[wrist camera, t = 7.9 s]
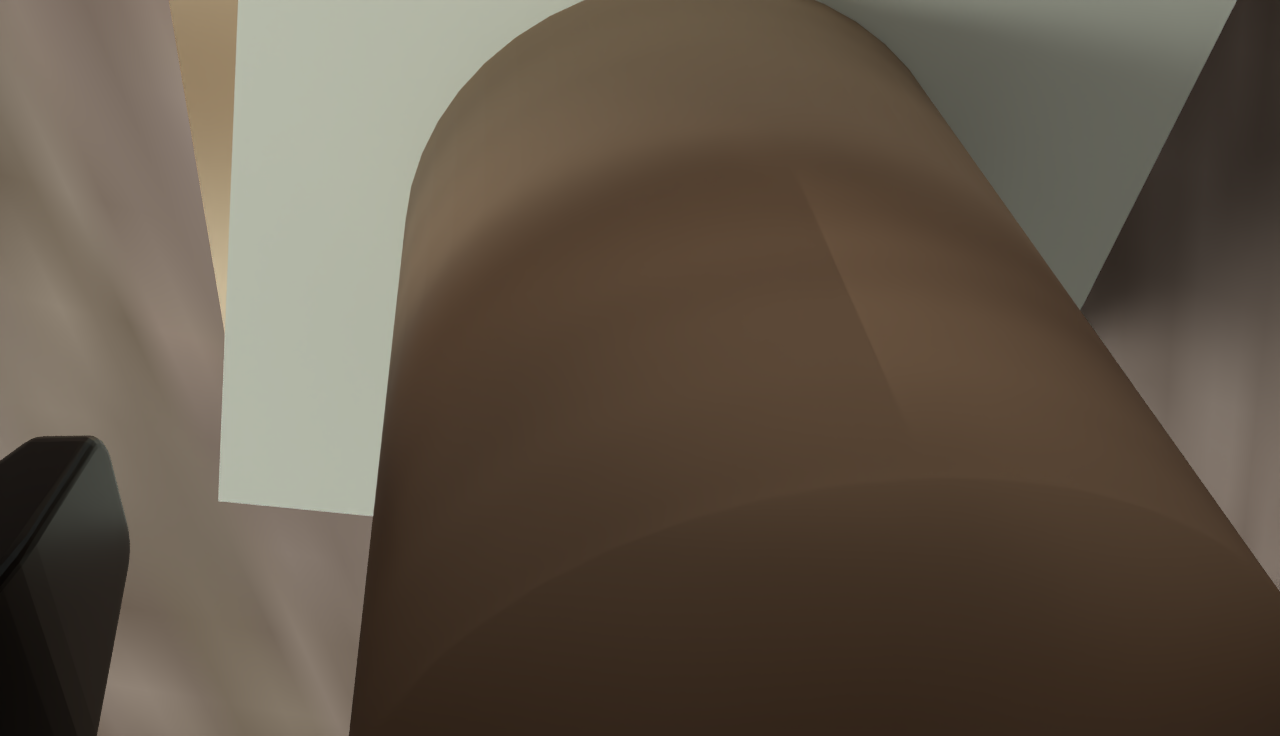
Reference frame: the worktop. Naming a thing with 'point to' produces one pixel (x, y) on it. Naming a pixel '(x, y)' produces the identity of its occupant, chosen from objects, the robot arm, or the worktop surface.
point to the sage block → (479, 28)
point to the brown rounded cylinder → (767, 422)
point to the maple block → (210, 111)
